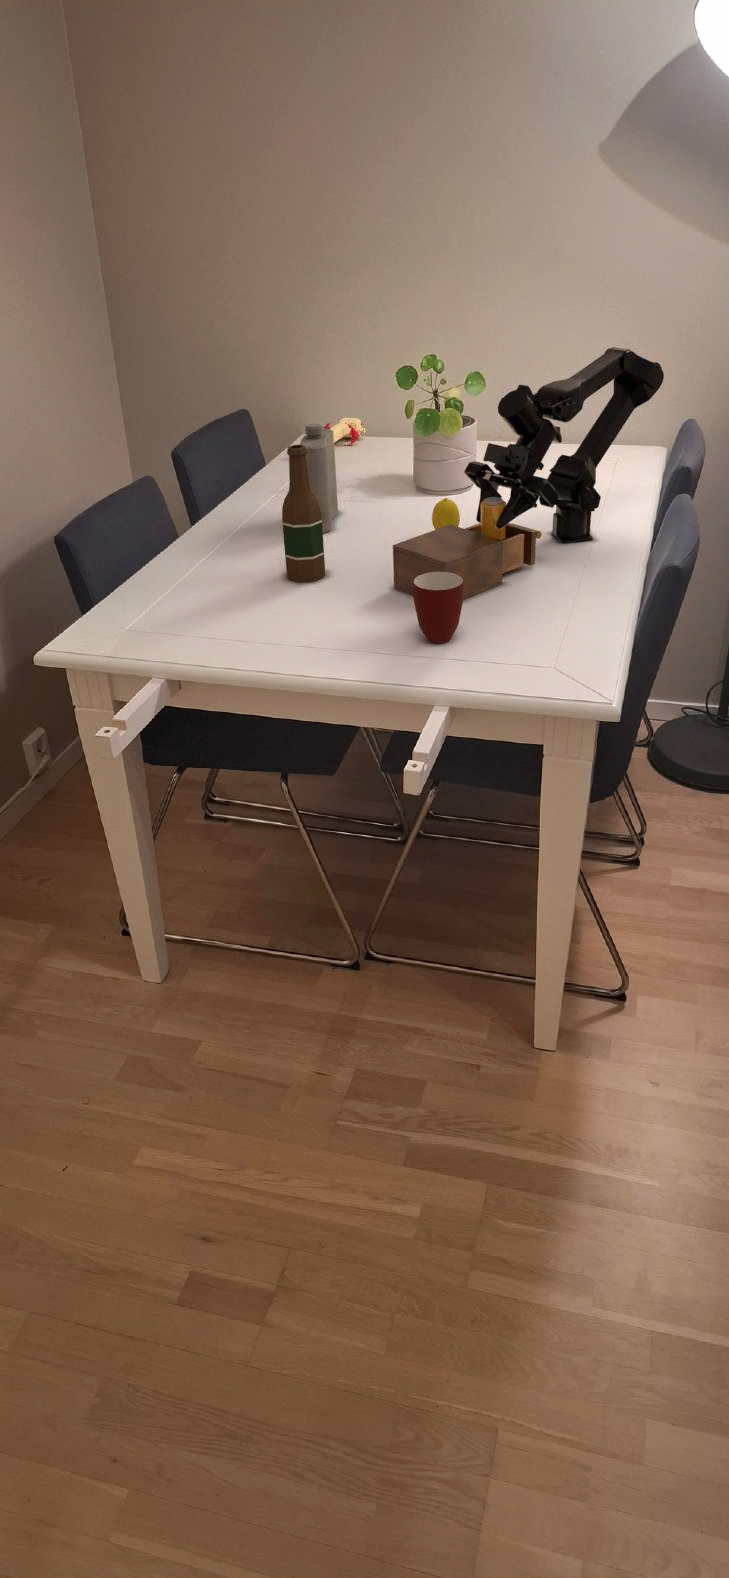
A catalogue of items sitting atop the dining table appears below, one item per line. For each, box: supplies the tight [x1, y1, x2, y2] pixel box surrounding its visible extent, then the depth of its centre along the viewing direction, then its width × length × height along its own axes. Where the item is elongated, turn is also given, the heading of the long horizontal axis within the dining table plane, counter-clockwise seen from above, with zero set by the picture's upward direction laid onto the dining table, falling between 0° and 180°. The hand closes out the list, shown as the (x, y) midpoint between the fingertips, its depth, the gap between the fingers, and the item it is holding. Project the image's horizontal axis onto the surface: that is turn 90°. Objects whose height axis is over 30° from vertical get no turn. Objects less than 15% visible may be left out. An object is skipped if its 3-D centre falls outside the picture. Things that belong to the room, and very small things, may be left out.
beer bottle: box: [281, 444, 326, 583], centre depth 199 cm, size 8×8×24 cm
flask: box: [299, 423, 339, 534], centre depth 226 cm, size 15×6×20 cm, turn 173°
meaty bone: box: [323, 417, 367, 446], centre depth 279 cm, size 10×9×25 cm
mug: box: [412, 572, 464, 644], centre depth 177 cm, size 10×8×10 cm
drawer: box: [464, 522, 542, 575], centre depth 203 cm, size 18×12×6 cm, turn 132°
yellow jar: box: [480, 497, 507, 540], centre depth 199 cm, size 5×5×7 cm
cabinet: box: [392, 525, 503, 601], centre depth 196 cm, size 15×13×8 cm
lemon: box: [431, 497, 461, 530], centre depth 218 cm, size 6×6×8 cm
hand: (487, 524), depth 199 cm, fingers closed on yellow jar, 4 cm apart
